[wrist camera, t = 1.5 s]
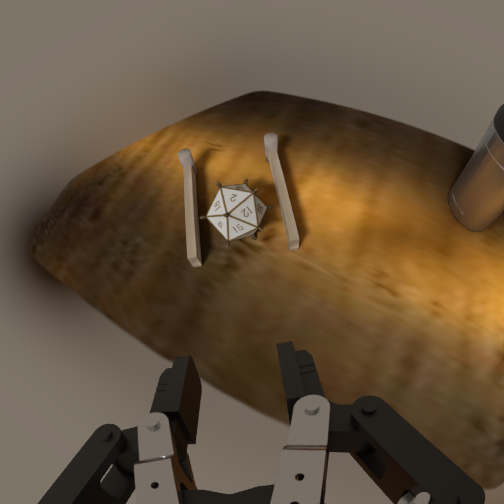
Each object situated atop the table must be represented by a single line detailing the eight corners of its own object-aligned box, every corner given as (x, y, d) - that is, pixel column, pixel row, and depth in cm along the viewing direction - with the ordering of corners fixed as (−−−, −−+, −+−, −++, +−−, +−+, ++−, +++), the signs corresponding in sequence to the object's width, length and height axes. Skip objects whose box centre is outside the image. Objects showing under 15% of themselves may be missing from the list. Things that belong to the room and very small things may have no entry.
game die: (231, 234, 48) (195, 182, 43) (281, 211, 46) (247, 153, 41) (226, 272, 41) (181, 213, 36) (285, 246, 39) (244, 179, 33)
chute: (277, 153, 50) (276, 131, 45) (301, 248, 42) (303, 231, 38) (185, 170, 50) (177, 150, 45) (190, 267, 43) (180, 252, 38)
